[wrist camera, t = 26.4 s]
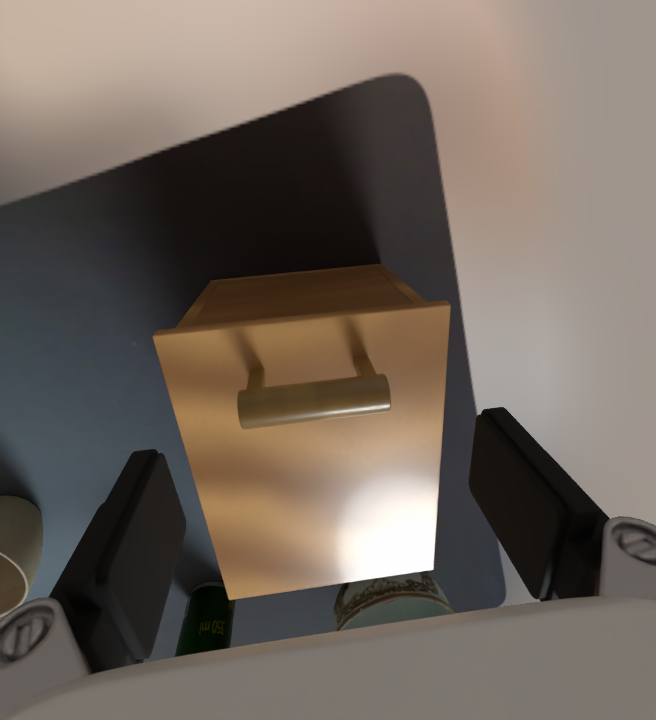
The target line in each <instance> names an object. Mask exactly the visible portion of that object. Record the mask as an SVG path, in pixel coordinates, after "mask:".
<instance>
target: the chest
mask: <svg viewBox="0 0 656 720" xmlns="http://www.w3.org/2000/svg"><path fill="white" fill-rule="evenodd" d="M421 302H427V301H425V300H424V299H423V298H422V297H421V296H419V295H418V294H417V293H416V292H415V291H413V290H412V289H411V288H410V287H409V286H407V285H406V284H405V283H404V282H403V281H401V280H400V279H399V278H398V277H397V276H395V275H394V274H393V273H392V272H391V271H389V270H388V269H387V268H386V267H385V266H384V265H382V264H372V265H362V266H352V267H341V268H331V269H321V270H310V271H300V272H290V273H279V274H269V275H259V276H248V277H238V278H228V279H217V280H211V281H210V282H209V284H208V285H207V286H206V288H205V289H204V290H203V292H202V293H201V294H200V296H199V297H198V298H197V300H196V301H195V302H194V304H193V305H192V306H191V308H190V309H189V310H188V312H187V313H186V314H185V316H184V317H183V318H182V320H181V321H180V322H179V324H178V325H177V326H176V328H181V327H190V326H200V325H209V324H219V323H229V322H238V321H248V320H258V319H267V318H277V317H286V316H296V315H306V314H315V313H325V312H334V311H344V310H354V309H363V308H373V307H383V306H392V305H402V304H411V303H421Z"/></svg>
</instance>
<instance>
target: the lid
mask: <svg viewBox="0 0 656 720" xmlns="http://www.w3.org/2000/svg"><path fill="white" fill-rule="evenodd" d="M449 321H450V304H449V303H448V302H446V301H445V300H440V301H431V302H421V303H411V304H402V305H392V306H383V307H373V308H363V309H354V310H344V311H334V312H325V313H315V314H306V315H296V316H286V317H277V318H267V319H258V320H248V321H238V322H229V323H219V324H209V325H200V326H190V327H181V328H171V329H161V330H157V331H156V332H155V333H154V334H153V340H154V344H155V347H156V351H157V354H158V357H159V361H160V364H161V368H162V371H163V375H164V378H165V382H166V385H167V388H168V392H169V395H170V399H171V402H172V406H173V409H174V413H175V416H176V419H177V423H178V426H179V430H180V433H181V437H182V440H183V444H184V447H185V450H186V454H187V457H188V461H189V464H190V468H191V471H192V475H193V478H194V482H195V485H196V488H197V492H198V495H199V499H200V502H201V506H202V509H203V513H204V516H205V519H206V523H207V526H208V530H209V533H210V537H211V540H212V544H213V547H214V550H215V554H216V557H217V561H218V564H219V568H220V571H221V575H222V578H223V582H224V585H225V588H226V592H227V595H228V599H229V600H233V599H240V598H246V597H253V596H260V595H267V594H273V593H280V592H287V591H294V590H300V589H307V588H314V587H320V586H327V585H334V584H341V583H347V582H354V581H361V580H368V579H374V578H381V577H388V576H395V575H401V574H408V573H415V572H421V571H428V570H433V569H434V556H435V540H436V524H437V509H438V493H439V478H440V462H441V446H442V431H443V415H444V399H445V384H446V368H447V352H448V337H449Z"/></svg>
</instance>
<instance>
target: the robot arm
mask: <svg viewBox="0 0 656 720" xmlns="http://www.w3.org/2000/svg"><path fill="white" fill-rule="evenodd" d="M469 487H470V491H471V493H472V495H473V497H474V498H475V500H476V502H477V504H478V505H479V507H480V509H481V510H482V512H483V514H484V516H485V517H486V519H487V521H488V522H489V524H490V526H491V527H492V529H493V531H494V533H495V534H496V536H497V538H498V539H499V541H500V543H501V544H502V546H503V548H504V550H505V551H506V553H507V555H508V556H509V558H510V560H511V562H512V563H513V565H514V567H515V568H516V570H517V572H518V574H519V575H520V577H521V579H522V580H523V582H524V584H525V586H526V587H527V589H528V591H529V592H530V594H531V595H532V596H533V598H535V599H540V601H541V602H535V603H527V604H520V605H511V606H504V607H497V608H490V609H484V610H477V611H470V612H463V613H456V614H449V615H443V616H436V617H429V618H422V619H415V620H409V621H402V622H395V623H389V624H382V625H375V626H369V627H362V628H356V629H349V630H343V631H336V632H329V633H323V634H316V635H310V636H303V637H297V638H291V639H284V640H278V641H272V642H265V643H259V644H253V645H246V646H240V647H234V648H227V649H221V650H215V651H208V652H202V653H196V654H190V655H184V656H179V657H173V658H167V659H162V660H156V661H150V662H145V663H143V660H144V659H146V658H149V657H150V655H151V653H152V650H153V647H154V643H155V639H156V636H157V632H158V629H159V625H160V621H161V618H162V614H163V611H164V607H165V603H166V600H167V596H168V593H169V589H170V586H171V582H172V578H173V575H174V571H175V568H176V564H177V560H178V557H179V553H180V550H181V546H182V542H183V539H184V535H185V531H186V519H185V516H184V513H183V510H182V507H181V504H180V501H179V498H178V495H177V492H176V489H175V486H174V483H173V480H172V477H171V474H170V471H169V468H168V465H167V462H166V459H165V456H164V454H163V453H159V454H158V452H157V450H156V449H150V450H142V451H135V452H133V453H132V454H131V456H130V458H129V459H128V461H127V463H126V465H125V467H124V469H123V470H122V472H121V474H120V476H119V478H118V479H117V481H116V483H115V485H114V487H113V489H112V490H111V492H110V494H109V496H108V498H107V499H106V501H105V503H103V504H102V505H101V506H100V507H99V508H98V510H97V512H96V513H95V515H94V517H93V519H92V521H91V522H90V524H89V526H88V528H87V529H86V531H85V533H84V535H83V537H82V538H81V540H80V542H79V544H78V546H77V547H76V549H75V551H74V553H73V554H72V556H71V558H70V560H69V562H68V563H67V565H66V567H65V569H64V571H63V572H62V574H61V576H60V578H59V580H58V581H57V583H56V585H55V587H54V588H53V590H52V592H51V594H50V596H49V597H47V598H38V599H35V600H31V601H28V602H26V603H24V604H22V605H21V606H19V607H17V608H15V609H14V610H12V611H11V612H10V613H8V614H7V615H5V616H4V617H3V618H2V619H1V620H0V720H656V526H655V525H653V524H650V523H648V522H645V521H643V520H640V519H636V518H631V517H615V518H611V519H610V518H609V517H608V516H607V515H606V514H605V513H604V512H603V511H602V510H601V509H600V508H599V507H598V506H597V505H596V504H595V502H594V501H593V500H592V499H591V498H590V497H589V496H588V495H587V494H586V493H585V492H584V491H583V490H582V489H581V488H580V487H579V485H578V484H577V483H576V482H575V481H574V480H573V479H572V478H571V477H570V476H569V475H568V474H567V473H566V472H565V471H564V470H563V469H562V467H560V465H559V464H558V463H557V462H556V461H555V460H554V459H553V458H552V457H551V456H550V455H549V454H548V453H547V452H546V451H545V450H544V449H543V448H542V447H541V446H540V445H539V444H538V443H537V442H536V441H535V439H534V438H533V437H532V436H531V435H530V434H529V433H528V432H527V431H526V430H525V429H524V428H523V427H522V426H521V425H520V423H519V422H517V420H516V419H515V418H514V417H513V416H512V415H511V414H510V413H509V412H508V411H507V410H506V409H505V408H504V407H499V408H490V409H484V410H483V411H482V413H481V415H478V416H477V418H476V425H475V433H474V442H473V450H472V458H471V467H470V475H469Z"/></svg>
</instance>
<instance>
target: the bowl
mask: <svg viewBox="0 0 656 720" xmlns="http://www.w3.org/2000/svg"><path fill="white" fill-rule="evenodd" d="M449 614H456V613H455V612H454V610H453V609H452V608H451V607H450V605H449V603H448V601H447V599H446V597H445V595H444V593H443V591H442V590H441V588H440V586H439V585H438V584H437V582H436V581H435V580H434V579H433V578H432V576H431V575H430V574H429V573H427V572H426V571H421V572H415V573H408V574H401V575H395V576H388V577H381V578H374V579H368V580H361V581H354V582H347V583H344V584H343V585H342V587H341V589H340V591H339V593H338V596H337V599H336V602H335V606H334V612H333V632H336V631H343V630H349V629H356V628H362V627H369V626H375V625H382V624H389V623H395V622H402V621H409V620H415V619H422V618H429V617H436V616H443V615H449Z"/></svg>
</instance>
